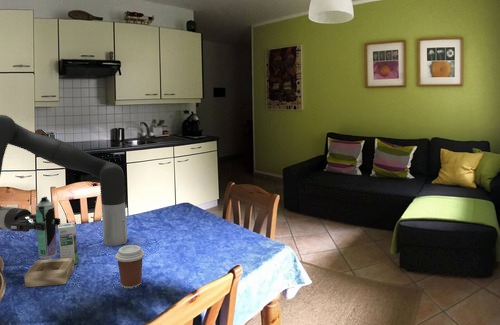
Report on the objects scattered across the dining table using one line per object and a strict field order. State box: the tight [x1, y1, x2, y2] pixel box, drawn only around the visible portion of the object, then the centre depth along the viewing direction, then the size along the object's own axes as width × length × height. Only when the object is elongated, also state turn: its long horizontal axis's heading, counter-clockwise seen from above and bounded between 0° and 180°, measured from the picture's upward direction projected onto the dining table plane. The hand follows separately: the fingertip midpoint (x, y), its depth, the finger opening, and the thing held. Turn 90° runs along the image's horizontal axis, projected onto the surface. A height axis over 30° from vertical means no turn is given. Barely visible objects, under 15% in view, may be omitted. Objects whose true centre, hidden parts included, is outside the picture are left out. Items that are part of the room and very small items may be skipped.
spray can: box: [34, 196, 58, 260], centre depth 129 cm, size 6×6×20 cm
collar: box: [23, 258, 75, 288], centre depth 132 cm, size 12×12×4 cm
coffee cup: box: [114, 244, 145, 289], centre depth 127 cm, size 9×9×12 cm
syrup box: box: [57, 221, 79, 265], centre depth 143 cm, size 6×6×14 cm
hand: (52, 224), depth 128 cm, fingers closed on spray can, 5 cm apart
